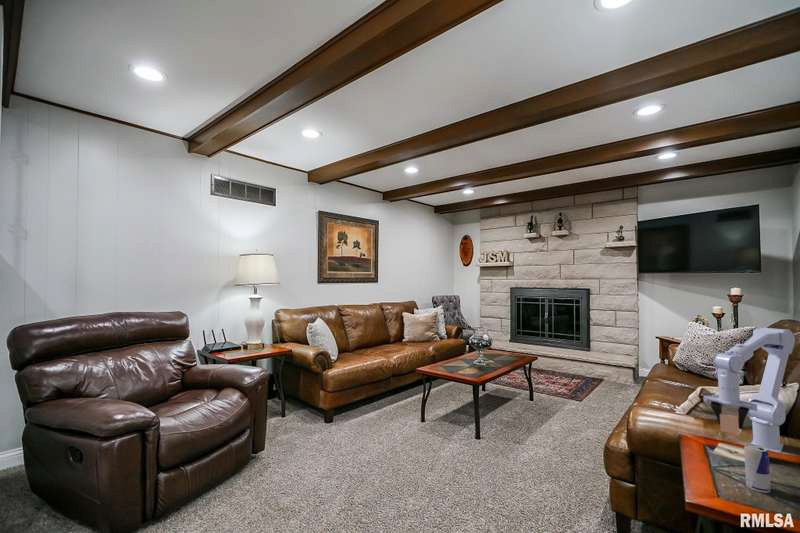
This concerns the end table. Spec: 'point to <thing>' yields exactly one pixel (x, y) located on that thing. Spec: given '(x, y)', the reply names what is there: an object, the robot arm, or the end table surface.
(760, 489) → the energy drink
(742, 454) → the birch board
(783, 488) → the end table surface
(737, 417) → the salmon cube
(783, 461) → the end table surface
